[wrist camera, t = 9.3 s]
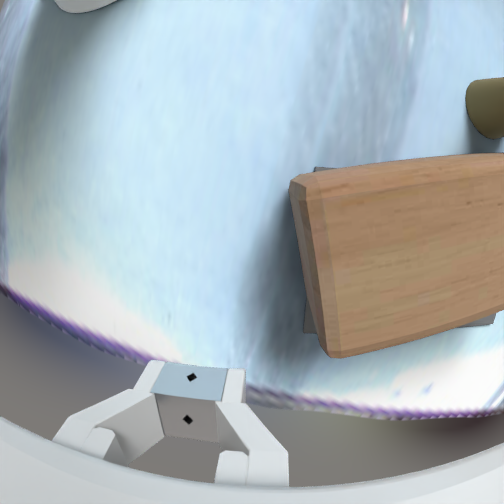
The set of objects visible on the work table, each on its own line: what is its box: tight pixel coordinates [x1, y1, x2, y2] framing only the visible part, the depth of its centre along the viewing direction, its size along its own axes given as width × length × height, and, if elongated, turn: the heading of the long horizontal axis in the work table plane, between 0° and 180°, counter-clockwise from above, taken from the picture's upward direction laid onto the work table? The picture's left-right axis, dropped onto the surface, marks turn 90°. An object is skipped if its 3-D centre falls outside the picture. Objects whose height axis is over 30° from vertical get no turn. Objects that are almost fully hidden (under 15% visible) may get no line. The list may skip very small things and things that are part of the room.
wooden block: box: [289, 153, 504, 358], centre depth 18 cm, size 10×10×20 cm
